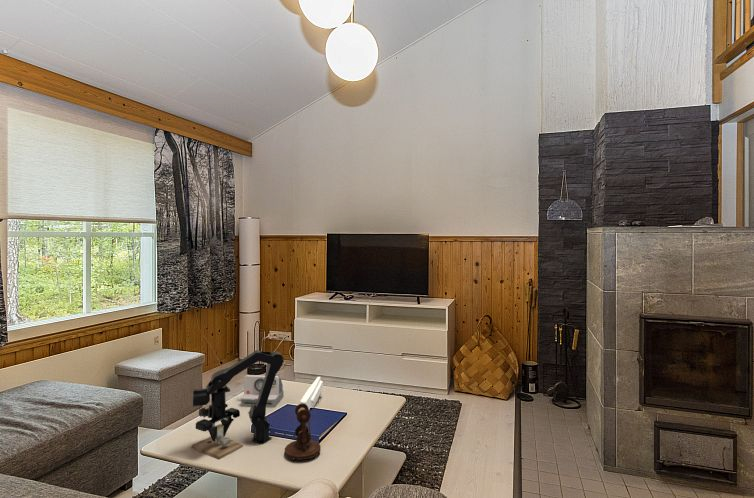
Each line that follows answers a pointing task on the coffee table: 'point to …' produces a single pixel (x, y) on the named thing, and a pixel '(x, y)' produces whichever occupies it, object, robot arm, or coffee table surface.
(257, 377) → the instant camera
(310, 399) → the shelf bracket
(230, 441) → the hole plate
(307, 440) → the brown wooden tall piece
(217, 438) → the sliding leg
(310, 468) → the coffee table surface
